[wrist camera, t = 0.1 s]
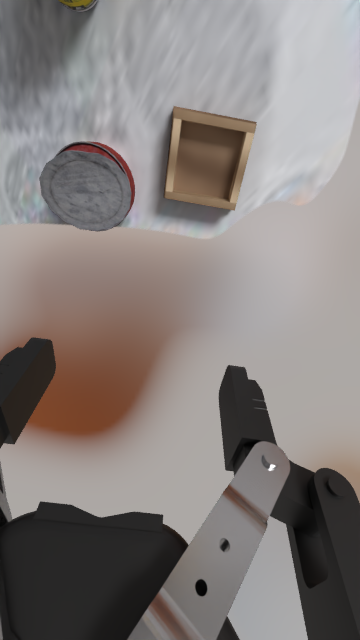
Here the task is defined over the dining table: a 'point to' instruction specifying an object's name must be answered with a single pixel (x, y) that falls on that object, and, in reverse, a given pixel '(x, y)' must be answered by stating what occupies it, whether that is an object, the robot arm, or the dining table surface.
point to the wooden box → (207, 157)
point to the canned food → (88, 186)
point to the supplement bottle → (78, 4)
